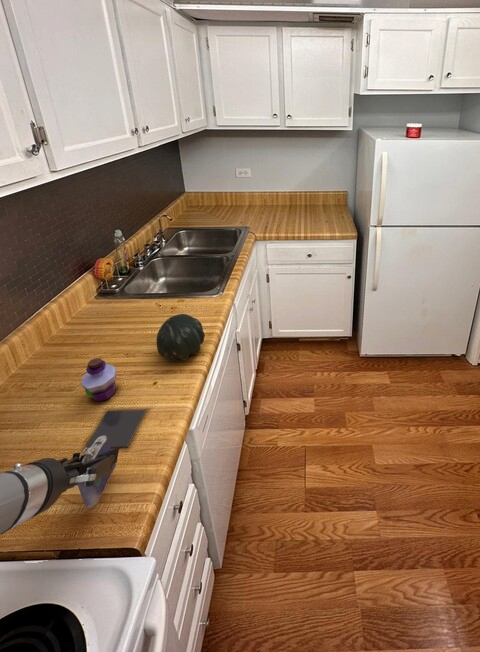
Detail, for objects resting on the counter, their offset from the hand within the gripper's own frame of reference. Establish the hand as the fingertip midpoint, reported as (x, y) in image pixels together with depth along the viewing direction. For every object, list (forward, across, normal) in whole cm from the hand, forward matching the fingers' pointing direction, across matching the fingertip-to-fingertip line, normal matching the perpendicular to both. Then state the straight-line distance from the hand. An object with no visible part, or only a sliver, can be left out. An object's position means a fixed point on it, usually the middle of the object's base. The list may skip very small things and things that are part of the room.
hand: (107, 455), depth 72 cm
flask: (0, 0, +5) cm, 5 cm away
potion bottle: (+20, +14, -11) cm, 27 cm away
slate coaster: (+12, +5, -4) cm, 14 cm away
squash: (+32, -3, -23) cm, 39 cm away
